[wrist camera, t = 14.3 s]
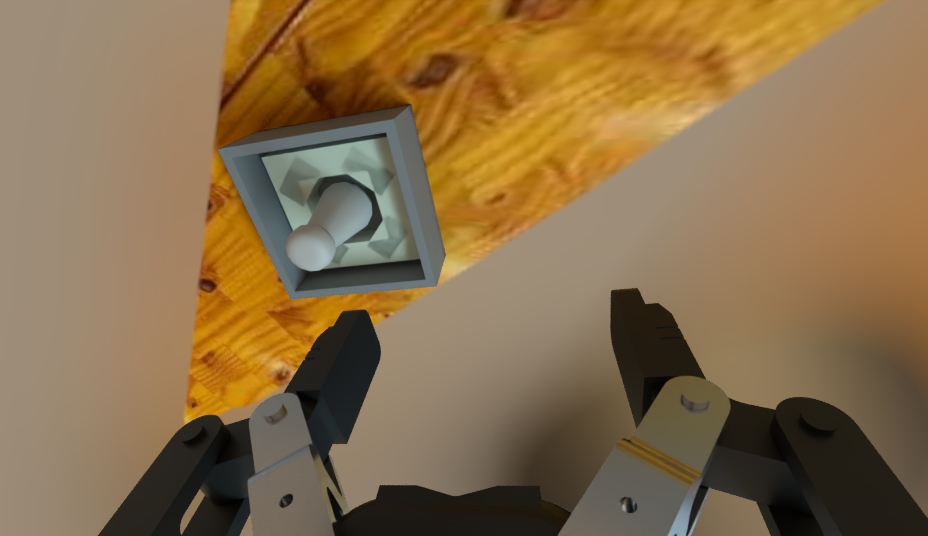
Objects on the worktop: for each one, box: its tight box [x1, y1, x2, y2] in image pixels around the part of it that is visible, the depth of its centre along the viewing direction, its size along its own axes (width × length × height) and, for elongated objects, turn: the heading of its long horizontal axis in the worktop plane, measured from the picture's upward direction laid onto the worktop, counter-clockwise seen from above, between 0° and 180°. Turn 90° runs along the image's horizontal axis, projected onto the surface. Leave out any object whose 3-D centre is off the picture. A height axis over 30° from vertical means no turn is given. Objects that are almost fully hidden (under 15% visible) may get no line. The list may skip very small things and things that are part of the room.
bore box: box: [218, 105, 446, 299], centre depth 45 cm, size 18×18×7 cm
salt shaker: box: [285, 182, 372, 271], centre depth 42 cm, size 6×6×13 cm
